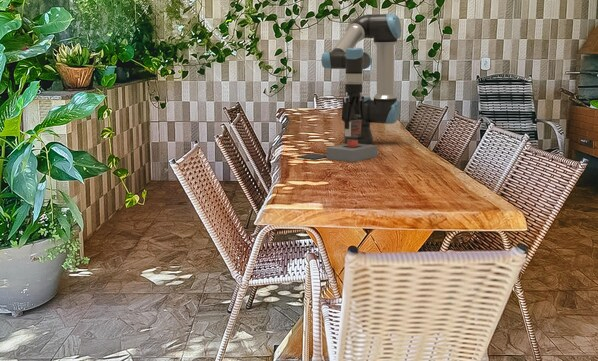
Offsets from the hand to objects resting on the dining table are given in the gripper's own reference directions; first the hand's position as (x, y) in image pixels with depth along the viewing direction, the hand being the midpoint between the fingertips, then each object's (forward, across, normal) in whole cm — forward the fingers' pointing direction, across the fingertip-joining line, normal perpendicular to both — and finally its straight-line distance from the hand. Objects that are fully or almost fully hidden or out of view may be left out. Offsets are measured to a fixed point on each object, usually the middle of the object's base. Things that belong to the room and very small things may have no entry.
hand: (352, 135), depth 312 cm
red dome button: (+7, 0, 0) cm, 7 cm away
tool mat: (+10, +10, -14) cm, 20 cm away
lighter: (+1, 0, 0) cm, 1 cm away
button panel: (+10, 0, 0) cm, 10 cm away
